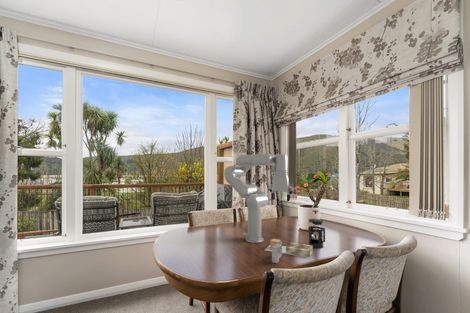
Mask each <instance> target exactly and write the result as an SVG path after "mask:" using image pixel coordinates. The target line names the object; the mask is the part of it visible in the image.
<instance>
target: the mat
mask: <svg viewBox="0 0 470 313" xmlns="http://www.w3.org/2000/svg"><path fill="white" fill-rule="evenodd" d="M286 247H287V246H286V245H285V246H284V245H282V255H283V254H284V255H289V256H290V255H291V256H295V257H301V258H306V259H307V258H308V259H310V258H311V256H310V257H305V256H299V255H293V254H288V253H286ZM264 251H266V252H268V251H269V252H272V249H270V244H269V245H268V246H267V247H266V248H265V249H264Z"/></svg>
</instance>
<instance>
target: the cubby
mask: <svg viewBox="0 0 470 313" xmlns="http://www.w3.org/2000/svg"><path fill="white" fill-rule="evenodd" d="M313 252H314V248H313V246H312V245H308V244H304V243H297V242H292V241H290V242H289V246H286V253H288V254H287V255H289V254H293V255H292V256H294V255H299V256H298V257H300V256H305V257H304V258H306V257H310V258H311V256H312V254H313Z"/></svg>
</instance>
